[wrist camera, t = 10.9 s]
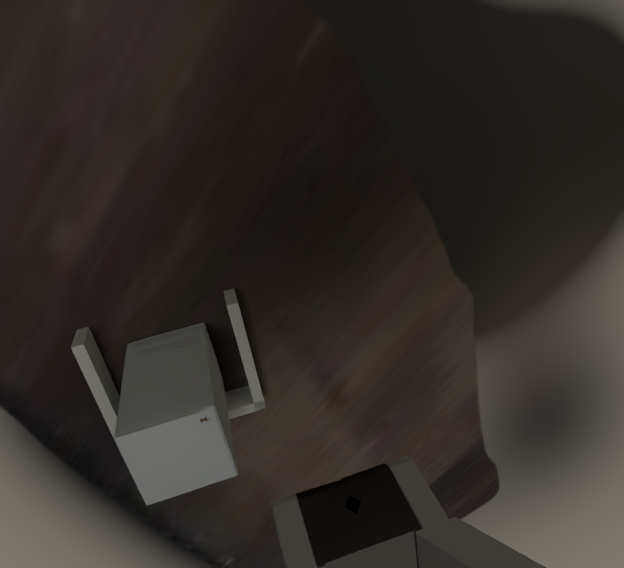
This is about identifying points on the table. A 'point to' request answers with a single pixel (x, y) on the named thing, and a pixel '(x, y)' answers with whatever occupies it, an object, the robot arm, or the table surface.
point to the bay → (106, 391)
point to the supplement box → (174, 415)
